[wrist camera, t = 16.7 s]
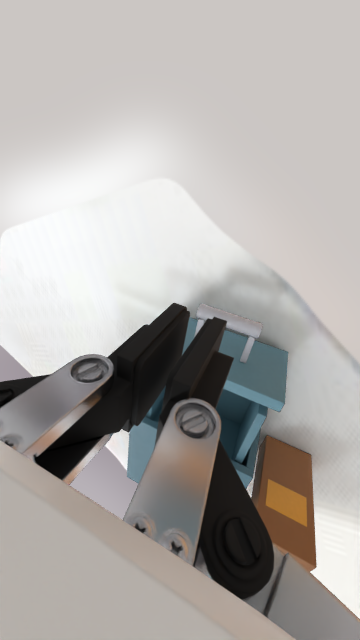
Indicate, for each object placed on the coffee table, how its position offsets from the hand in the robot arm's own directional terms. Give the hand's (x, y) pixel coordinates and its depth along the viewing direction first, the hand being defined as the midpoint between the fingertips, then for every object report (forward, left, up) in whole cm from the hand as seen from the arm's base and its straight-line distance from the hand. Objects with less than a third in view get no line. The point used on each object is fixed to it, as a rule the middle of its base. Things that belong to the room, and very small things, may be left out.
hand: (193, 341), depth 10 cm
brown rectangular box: (-12, +26, -17) cm, 33 cm away
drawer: (0, +14, -16) cm, 21 cm away
